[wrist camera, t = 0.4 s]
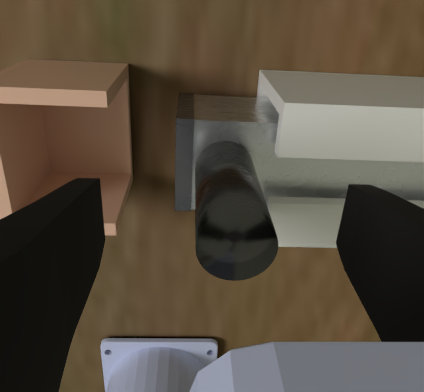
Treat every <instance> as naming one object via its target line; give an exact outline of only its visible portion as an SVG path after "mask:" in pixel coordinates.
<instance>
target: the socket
mask: <svg viewBox="0 0 424 392" xmlns="http://www.w3.org/2000/svg"><path fill="white" fill-rule="evenodd" d="M76 178H100V185H101V196H102V208H103V219H104V230H105V235H116V234H117V231H118V228H119V225H120V221H121V218H122V215H123V211H124V208H125V205H126V202H127V198H128V195H129V192H130V188H131V185H132V182H133V164H132V140H131V116H130V93H129V69H128V64H127V63H105V62H84V61H62V60H40V59H25V60H23V61H21V62H18V63H16V64H14V65H12V66H10V67H8V68H6V69H3V70H1V71H0V219H2V218H4V217H6V216H8V215H10V214H12V213H14V212H16V211H18V210H20V209H21V208H23V207H25V206H27V205H29V204H31V203H33V202H35V201H37V200H38V199H40V198H42V197H43V196H45V195H47V194H49V193H50V192H52V191H54V190H56V189H57V188H59V187H61V186H63V185H64V184H66V183H68V182H70V181H72V180H74V179H76Z"/></svg>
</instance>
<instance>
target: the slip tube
mask: <svg viewBox="0 0 424 392" xmlns="http://www.w3.org/2000/svg"><path fill="white" fill-rule="evenodd" d="M278 121H279V113H278V112H277V110H276V108H275V107H274V105H273V104H272V102H271V101H270V99H269V98H260V97H236V96H213V95H194V93H179V98H178V106H177V114H176V161H175V211H191V209H195V230H196V255H197V258H198V261H199V262H200V264H201V265H202V267H203V268H204V269H205V270H206V271H207V272H209V273H210V274H212V275H214V276H216V277H218V278H221V279H225V280H245V279H249V278H252V277H254V276H256V275H258V274H260V273H262V272H263V271H264V270H266V269H267V268H268V267H269V266H270V265H271V263H272V262H273V260H274V259H275V257H276V254H277V251H278V238H277V234H276V231H275V228H274V225H273V222H272V219H271V216H270V213H269V210H268V207H267V204H268V197H269V196H273V197H310V198H346V194H347V190H348V185H349V184H365V185H372V186H376V187H378V188H381V189H383V190H386V191H388V192H390V193H392V194H394V195H397V196H399V197H401V198H403V199H405V200H421V201H424V162H403V161H372V160H342V159H312V158H281V157H277V156H276V154H275V152H274V151H275V144H276V136H277V128H278Z"/></svg>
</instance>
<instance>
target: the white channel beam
mask: <svg viewBox="0 0 424 392" xmlns="http://www.w3.org/2000/svg"><path fill="white" fill-rule="evenodd" d="M257 97H260V98H269V99H270V101H271V102H272V104H273V105H274V107H275V108H276V110H277V112H278V113H279V121H278V128H277V136H276V144H275V151H274V152H275V154H276V156H277V157H281V158H312V159H342V160H372V161H403V162H424V77H410V76H388V75H367V74H345V73H323V72H301V71H279V70H260V71H259V81H258V90H257ZM345 199H346V198H310V197H273V196H269V197H268V204H267V207H268V210H269V213H270V216H271V219H272V222H273V225H274V228H275V231H276V234H277V238H278V247H327V248H337V245H336V240H337V235H338V231H339V226H340V221H341V217H342V212H343V208H344V203H345ZM407 201H409V202H411V203H413V204H415V205H417V206H419V207H422V208H424V201H421V200H407Z"/></svg>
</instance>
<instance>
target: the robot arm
mask: <svg viewBox="0 0 424 392" xmlns="http://www.w3.org/2000/svg"><path fill="white" fill-rule="evenodd" d="M104 243H105V230H104V219H103V208H102V196H101V185H100V178H76V179H74V180H72V181H70V182H68V183H66V184H64V185H63V186H61V187H59V188H57V189H56V190H54V191H52V192H50V193H49V194H47V195H45V196H43V197H42V198H40V199H38V200H37V201H35V202H33V203H31V204H29V205H27V206H25V207H23V208H21V209H20V210H18V211H16V212H14V213H12V214H10V215H8V216H6V217H4V218H2V219H0V392H58V391H59V387H60V383H61V379H62V375H63V371H64V367H65V363H66V359H67V356H68V352H69V348H70V344H71V341H72V338H73V335H74V332H75V329H76V327H77V324H78V322H79V319H80V316H81V314H82V311H83V309H84V306H85V304H86V301H87V298H88V296H89V293H90V291H91V288H92V285H93V283H94V280H95V277H96V275H97V272H98V269H99V266H100V262H101V257H102V253H103V248H104ZM336 245H337V248H338V251H339V255H340V258H341V261H342V263H343V266H344V269H345V271H346V273H347V275H348V277H349V279H350V281H351V283H352V285H353V287H354V289H355V291H356V293H357V295H358V297H359V298H360V300H361V302H362V304H363V306H364V308H365V310H366V312H367V314H368V315H369V317H370V319H371V321H372V323H373V325H374V327H375V329H376V331H377V333H378V335H379V337H380V339H381V341H382V342H267V343H262V344H257V345H251V346H246V347H241V348H235V349H232V350H230V351H228V352H227V353H225V354H224V355H222V356H221V357H219V358H218V359H217V352H218V343H217V341H216V340H214V339H187V338H105V339H103V340H102V342H101V356H102V366H103V375H104V385H105V392H424V208H422V207H419V206H417V205H415V204H413V203H411V202H409V201H407V200H405V199H403V198H401V197H399V196H397V195H394V194H392V193H390V192H388V191H386V190H383V189H381V188H378V187H376V186H372V185H365V184H349V185H348V190H347V194H346V199H345V203H344V208H343V212H342V217H341V221H340V226H339V231H338V235H337V240H336ZM109 350H111V351H109ZM209 350H212V351H209Z"/></svg>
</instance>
